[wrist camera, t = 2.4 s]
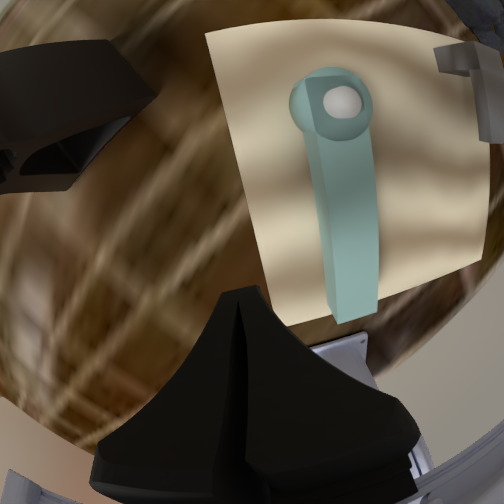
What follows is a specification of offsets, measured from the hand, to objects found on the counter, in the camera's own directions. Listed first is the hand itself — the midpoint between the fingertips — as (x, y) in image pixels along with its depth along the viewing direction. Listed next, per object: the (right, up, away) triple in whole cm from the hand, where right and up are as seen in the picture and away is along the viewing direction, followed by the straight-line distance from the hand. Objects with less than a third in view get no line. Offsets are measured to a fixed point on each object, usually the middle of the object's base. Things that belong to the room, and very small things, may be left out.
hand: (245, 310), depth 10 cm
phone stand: (-11, +11, +4) cm, 16 cm away
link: (+6, +5, +6) cm, 10 cm away
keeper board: (+10, +8, +7) cm, 15 cm away
